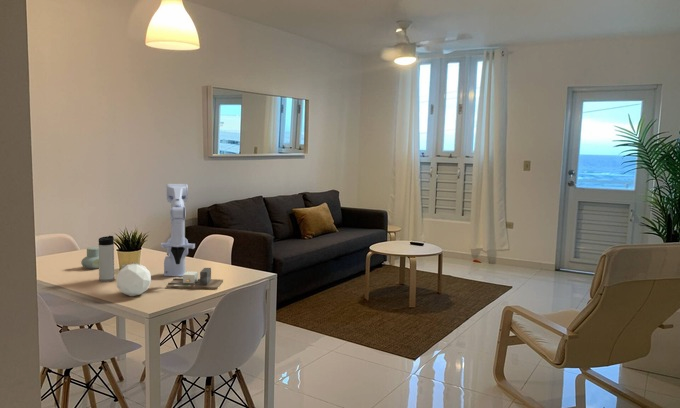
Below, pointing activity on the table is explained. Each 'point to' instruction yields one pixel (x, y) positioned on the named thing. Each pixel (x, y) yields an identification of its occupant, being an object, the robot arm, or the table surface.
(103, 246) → the travel mug
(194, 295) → the table surface
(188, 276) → the block
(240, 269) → the table surface
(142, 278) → the geodesic sphere
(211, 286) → the base
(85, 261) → the air freshener
